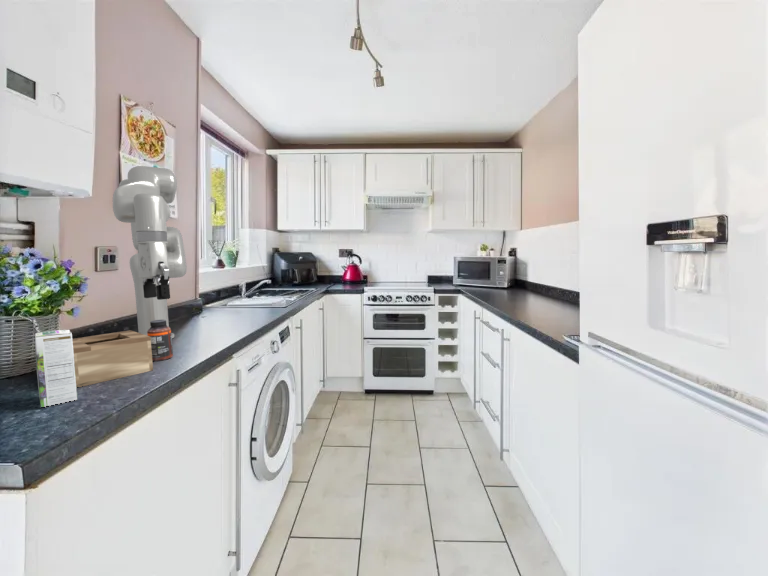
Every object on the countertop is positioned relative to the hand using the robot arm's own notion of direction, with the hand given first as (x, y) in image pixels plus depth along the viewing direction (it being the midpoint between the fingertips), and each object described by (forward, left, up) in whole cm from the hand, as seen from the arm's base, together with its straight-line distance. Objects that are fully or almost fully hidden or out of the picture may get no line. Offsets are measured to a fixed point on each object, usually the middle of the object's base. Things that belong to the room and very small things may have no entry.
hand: (156, 298), depth 107 cm
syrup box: (+18, -26, -18) cm, 36 cm away
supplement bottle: (0, 0, -18) cm, 18 cm away
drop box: (+3, -14, -18) cm, 23 cm away
